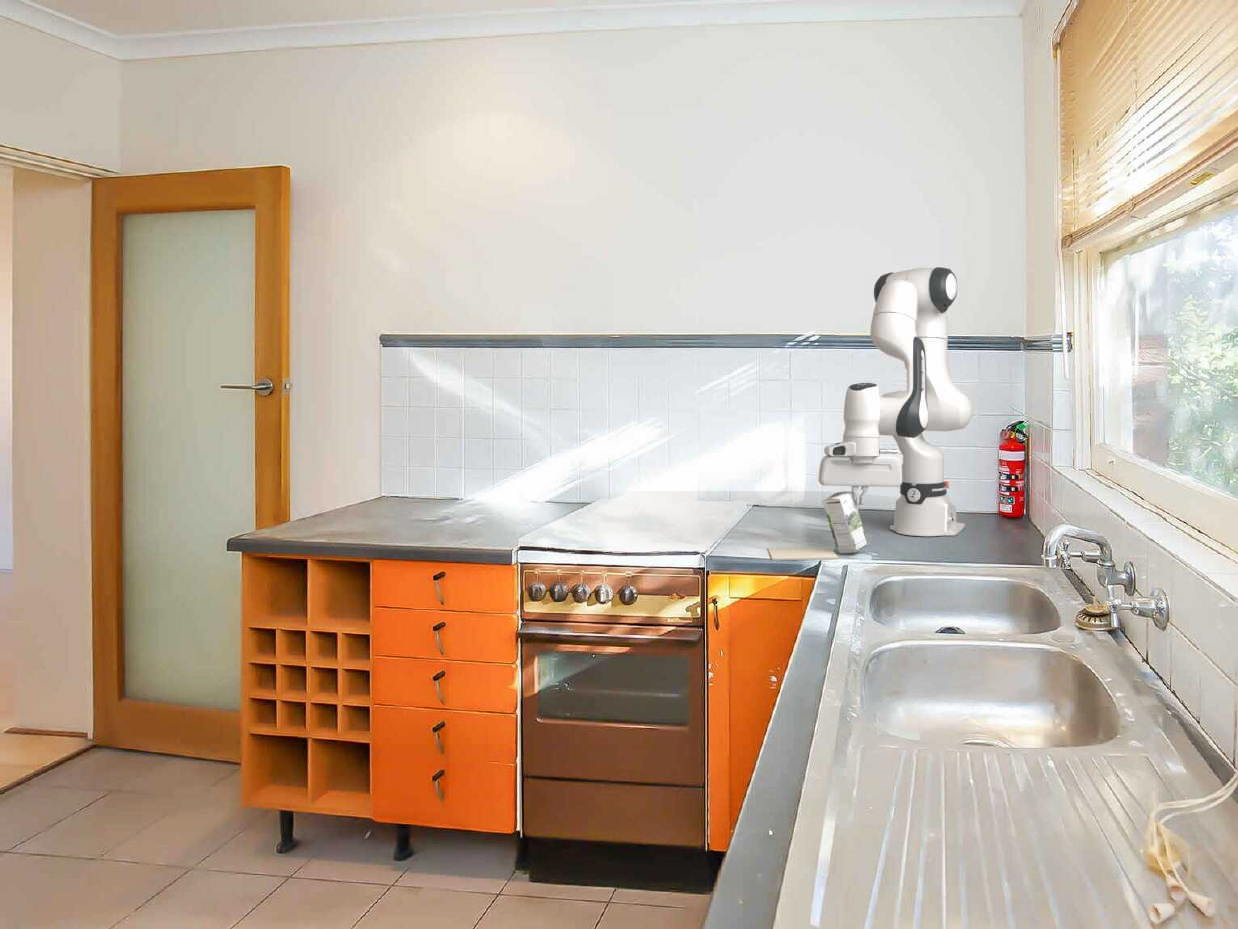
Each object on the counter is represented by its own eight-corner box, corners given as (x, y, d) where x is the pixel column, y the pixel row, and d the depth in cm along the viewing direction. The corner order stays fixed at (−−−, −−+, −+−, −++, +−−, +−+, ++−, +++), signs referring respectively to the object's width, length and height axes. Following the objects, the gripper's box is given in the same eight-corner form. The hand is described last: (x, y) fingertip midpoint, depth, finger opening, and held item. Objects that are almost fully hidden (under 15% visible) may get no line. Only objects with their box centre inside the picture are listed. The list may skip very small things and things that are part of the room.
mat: (830, 548, 274) (830, 546, 273) (838, 559, 260) (838, 557, 260) (767, 548, 274) (767, 547, 274) (772, 559, 261) (772, 558, 261)
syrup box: (850, 545, 270) (833, 492, 268) (869, 544, 265) (852, 490, 263) (837, 554, 266) (820, 500, 264) (856, 553, 262) (839, 498, 260)
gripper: (900, 448, 265) (898, 503, 266) (818, 447, 266) (816, 502, 266) (906, 449, 259) (904, 506, 259) (822, 448, 259) (820, 504, 260)
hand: (859, 504), depth 263 cm, fingers closed
